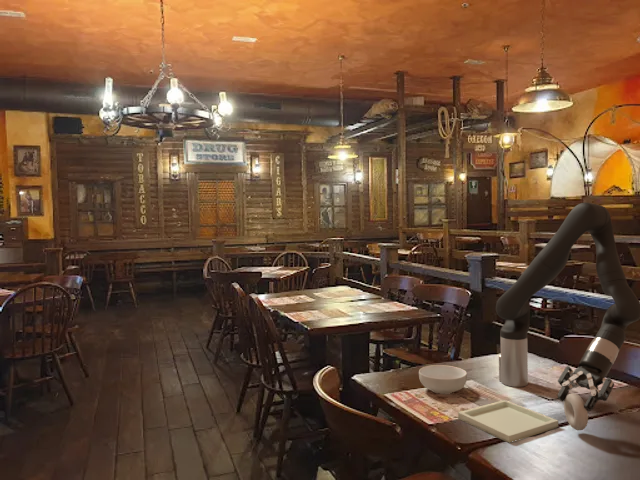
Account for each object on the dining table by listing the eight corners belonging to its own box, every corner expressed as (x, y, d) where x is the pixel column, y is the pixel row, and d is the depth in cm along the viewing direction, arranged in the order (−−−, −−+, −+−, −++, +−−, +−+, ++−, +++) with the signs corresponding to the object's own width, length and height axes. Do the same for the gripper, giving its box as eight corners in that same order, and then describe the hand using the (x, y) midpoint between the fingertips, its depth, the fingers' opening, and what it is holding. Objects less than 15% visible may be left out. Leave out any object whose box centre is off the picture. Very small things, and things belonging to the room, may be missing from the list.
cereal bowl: (448, 402, 171) (448, 382, 171) (409, 391, 184) (409, 371, 183) (476, 390, 182) (476, 370, 182) (437, 380, 195) (437, 361, 194)
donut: (591, 436, 138) (589, 400, 138) (578, 437, 139) (576, 401, 138) (574, 420, 148) (572, 387, 148) (562, 421, 149) (560, 388, 148)
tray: (458, 418, 157) (458, 412, 157) (504, 405, 166) (504, 399, 166) (509, 443, 140) (509, 436, 140) (558, 427, 149) (558, 420, 149)
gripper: (571, 344, 152) (544, 389, 148) (617, 355, 140) (590, 405, 135) (582, 358, 155) (557, 403, 150) (629, 371, 142) (603, 420, 138)
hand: (573, 404), depth 143 cm, fingers closed on donut, 7 cm apart
